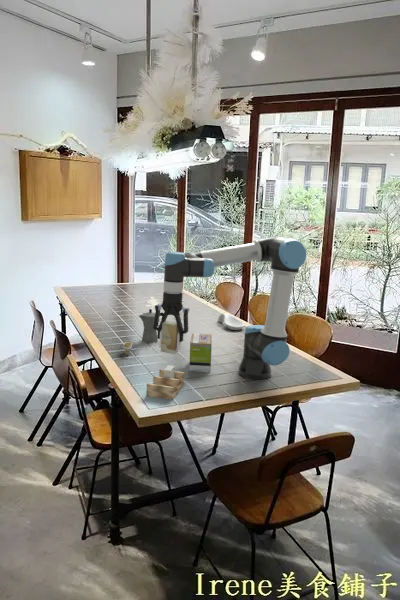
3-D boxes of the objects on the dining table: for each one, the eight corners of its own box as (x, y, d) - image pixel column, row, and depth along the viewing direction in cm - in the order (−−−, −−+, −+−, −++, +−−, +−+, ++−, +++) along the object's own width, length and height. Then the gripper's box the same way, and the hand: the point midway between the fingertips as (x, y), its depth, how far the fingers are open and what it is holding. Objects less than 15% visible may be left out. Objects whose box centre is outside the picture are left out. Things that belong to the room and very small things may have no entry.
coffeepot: (141, 344, 254) (142, 312, 250) (135, 339, 262) (136, 308, 258) (167, 341, 261) (168, 310, 257) (161, 336, 269) (162, 306, 265)
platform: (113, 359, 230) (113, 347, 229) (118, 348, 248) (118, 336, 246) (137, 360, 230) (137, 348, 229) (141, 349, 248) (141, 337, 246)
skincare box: (160, 352, 188) (161, 322, 185) (164, 349, 192) (165, 320, 189) (175, 354, 186) (176, 324, 183) (179, 351, 190) (180, 322, 187)
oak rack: (184, 385, 202) (184, 372, 201) (172, 402, 186) (173, 387, 184) (159, 382, 204) (160, 369, 203) (146, 398, 188) (146, 384, 187)
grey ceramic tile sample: (174, 383, 201) (174, 365, 200) (170, 388, 196) (170, 370, 194) (167, 382, 202) (168, 365, 200) (163, 387, 196) (163, 369, 194)
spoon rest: (247, 331, 290) (248, 319, 288) (231, 332, 285) (231, 321, 283) (227, 321, 310) (228, 310, 309) (212, 322, 305) (212, 312, 303)
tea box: (190, 361, 232) (191, 332, 229) (210, 362, 232) (212, 333, 229) (188, 372, 217) (190, 342, 214) (210, 373, 217) (212, 343, 214)
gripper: (199, 292, 185) (195, 348, 190) (152, 287, 189) (149, 342, 194) (194, 296, 178) (190, 354, 183) (146, 290, 182) (143, 347, 187)
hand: (169, 347), depth 188 cm, fingers closed on skincare box, 6 cm apart
